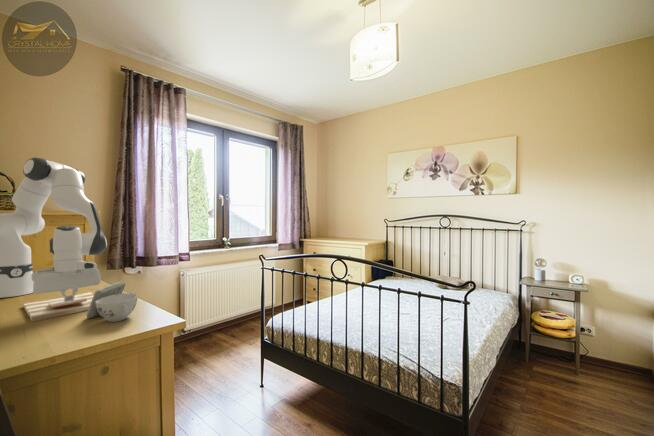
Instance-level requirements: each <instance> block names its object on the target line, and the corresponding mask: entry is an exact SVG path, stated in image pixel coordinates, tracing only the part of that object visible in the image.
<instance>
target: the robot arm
mask: <svg viewBox="0 0 654 436" xmlns="http://www.w3.org/2000/svg"><path fill="white" fill-rule="evenodd" d="M22 173H23V175H24V178H23V180H22V181H21V182H20V184H19V185H18V187H17V189H16V190H15V192H14V194H13V196H12V197H11V202H12V203H13V205H15V206H16V207H15V210H14V212H11V213H9V212H5V213H3V212H2V213H1V212H0V299H2V298H3V299H4V298H11V297H18V296H19V297H20V296H24V295H28V294H32V293H33V294H35V295H43V294H47V293H54V292H59V294H60V295H61V297H64V301H69V300H74V295H76V294H78V293H77V292H78V291H79V290H78V289H79V288H85V287H86V288H87V287H92V286H98V285H100V284H101V282H102V281H101V280H102V279H101V274H100V270H99V269H98V265H97V263H96V262H94V261H89V260H83V256H98V255H101V254H103V252H105V251H106V250H107V247H108V241H107V238H106V235H105V234H104V231H103V228H102V224H101V221H100V218H99V217H100V216H99V214H98V212H97V211H98V210H97V208H96V205H95V203H94V202H93V201H92V200H90V199H88V197H86V195H85V186H84V184H85V181H86V177H85V173H84V172H83V171H81V170H79V169H77V168H74V167H71V166H68V165H65V164H63V163H60V162H56V161H52V160H47V159H45V158H41V157H31V158H29V159H28V160H26V161H25V163H24V165H23V167H22ZM50 196H51V200H52V202H53V204H54V205H55V206H57V207H58V208H59V209H62V210H65V211H66V212H67V211H68V212H72V213H76V214H79V215H82V216H83V217H85V218H86V220H87V223H88V226H89V229H90V232H81V229H80V227H79V226H77V225H61V226H60V225H59V226H57V227H55V228H54V231H53V237H51V238H50V239H49V240H48V241H49V253H50V254H52V255H54V256H53V258H52V264H53V265H52V267H47V268H38V269H37V270H34V263H32V248H31V246H29V245H28V244H27V243H25V242H24V241H23V239H22V236H30V235H34V234H37V233H40V232H41V231H43V230H44V228H45V226H46V222H45V219H44V218H43V217H42V211H43V208H44V206H45V203H46V202H47V201H48V199H49V197H50ZM67 290H72V292H71V294H70V295H66V294H65V293H66V292H67Z"/></svg>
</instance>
